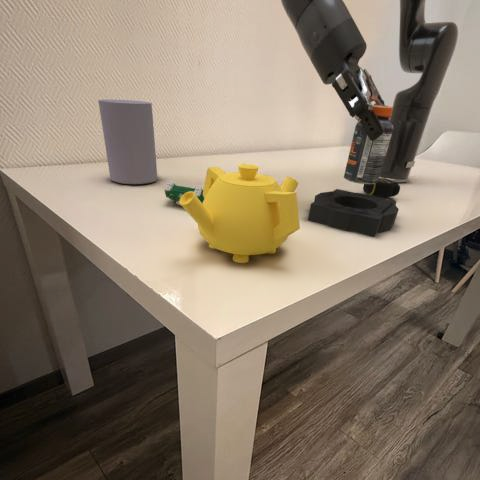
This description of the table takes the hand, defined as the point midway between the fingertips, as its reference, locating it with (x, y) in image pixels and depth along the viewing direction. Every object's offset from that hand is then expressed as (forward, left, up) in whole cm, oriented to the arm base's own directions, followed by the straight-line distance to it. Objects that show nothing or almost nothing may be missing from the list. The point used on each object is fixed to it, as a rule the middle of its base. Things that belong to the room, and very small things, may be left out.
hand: (383, 135), depth 54 cm
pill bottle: (0, -2, -7) cm, 8 cm away
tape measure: (-21, -2, -14) cm, 25 cm away
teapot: (+25, -10, -14) cm, 31 cm away
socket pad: (0, -2, -14) cm, 14 cm away
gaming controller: (+15, -29, -14) cm, 35 cm away
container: (+9, -50, -14) cm, 52 cm away
